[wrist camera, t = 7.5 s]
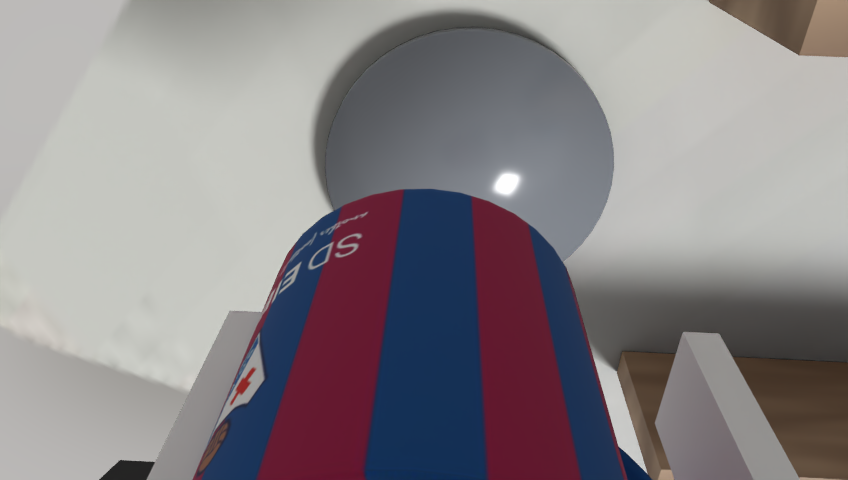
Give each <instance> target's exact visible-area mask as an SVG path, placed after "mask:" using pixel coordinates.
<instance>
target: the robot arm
mask: <svg viewBox="0 0 848 480" xmlns="http://www.w3.org/2000/svg"><path fill="white" fill-rule="evenodd" d="M261 314H262V312H247V311H229V313H228V315H227V318H226V320H225V322H224V324H223V326H222V328H221V330H220V332H219V334H218V336H217V338H216V340H215V342H214V344H213V346H212V348H211V350H210V352H209V354H208V356H207V358H206V360H205V362H204V364H203V366H202V368H201V370H200V372H199V374H198V376H197V378H196V380H195V382H194V384H193V386H192V389H191V391H190V393H189V395H188V397H187V399H186V401H185V403H184V405H183V407H182V409H181V411H180V413H179V415H178V417H177V419H176V421H175V423H174V425H173V427H172V429H171V431H170V433H169V435H168V437H167V440H166V441H165V443H164V445H163V447H162V449H161V451H160V453H159V456H158V457H157V460H156V462H144V461H124V460H120V461H119V462H118V463H117V464H116V465H115V466H113V467H112V468H111V469H110V470H109V471H108V472H107V473H106V474H105V475H104V476H103V477H102V478H101V479H99V480H193V477H194V475H195V472H196V470H197V468H198V465H199V463H200V460H201V458H202V456H203V453H204V451H205V448H206V446H207V444H208V441H209V439H210V436H211V434H212V431H213V429H214V427H215V424H216V422H217V419H218V417H219V415H220V412H221V410H222V407H223V405H224V403H225V400H226V398H227V395H228V393H229V391H230V388H231V386H232V383H233V381H234V379H235V376H236V374H237V371H238V369H239V367H240V364H241V362H242V359H243V357H244V355H245V352H246V350H247V347H248V345H249V342H250V340H251V338H252V335H253V333H254V330H255V328H256V326H257V323H258V321H259V318H260V316H261ZM655 425H656V428H657V431H658V434H659V437H660V440H661V442H662V445H663V448H664V451H665V454H666V457H667V460H668V462H669V465H670V468H671V471H672V474H673V477H674V479H675V480H800V479H799V477H798V475H797V473H796V471H795V470H794V468H793V466H792V464H791V462H790V461H789V459H788V457H787V455H786V453H785V452H784V450H783V448H782V446H781V444H780V442H779V441H778V439H777V437H776V435H775V433H774V432H773V430H772V428H771V426H770V424H769V423H768V421H767V419H766V417H765V415H764V414H763V412H762V410H761V408H760V406H759V405H758V403H757V401H756V399H755V397H754V395H753V394H752V392H751V390H750V388H749V386H748V385H747V383H746V381H745V379H744V377H743V376H742V374H741V372H740V370H739V368H738V367H737V365H736V363H735V361H734V359H733V357H732V356H731V354H730V352H729V350H728V348H727V347H726V345H725V343H724V341H723V339H722V338H721V336H720V334H719V333H698V332H683V333H682V336H681V339H680V343H679V346H678V349H677V352H676V356H675V359H674V362H673V365H672V369H671V372H670V375H669V378H668V382H667V385H666V388H665V392H664V395H663V398H662V401H661V405H660V408H659V411H658V414H657V418H656V421H655Z"/></svg>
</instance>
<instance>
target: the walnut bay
mask: <svg viewBox="0 0 848 480" xmlns="http://www.w3.org/2000/svg"><path fill="white" fill-rule="evenodd" d="M709 2H710V3H711V4H713V5H715V6H717V7H718V8H720V9H722V10H723V11H725V12H727V13H728V14H730V15H732V16H733V17H735V18H737V19H739V20H740V21H742V22H744V23H745V24H747V25H749V26H750V27H752V28H754V29H756V30H757V31H759V32H761V33H762V34H764V35H766V36H767V37H769V38H771V39H772V40H774V41H776V42H778V43H779V44H781V45H783V46H784V47H786V48H788V49H789V50H791V51H793V52H795V53H796V54H798V55H806V56H832V57H848V0H709ZM675 356H676V354H666V353H646V352H627V351H622V354H621V358H620V362H619V366H618V370H617V374H618V378H619V381H620V384H621V387H622V391H623V394H624V397H625V401H626V404H627V407H628V410H629V414H630V417H631V420H632V423H633V427H634V430H635V433H636V436H637V440H638V443H639V446H640V450H641V453H642V456H643V459H644V463H645V466H646V469H647V472H648V475H649V477H650V478H651V479H652V480H675V479H674V477H673V474H672V471H671V468H670V465H669V462H668V460H667V457H666V454H665V451H664V448H663V445H662V442H661V440H660V437H659V434H658V431H657V428H656V425H655V421H656V418H657V414H658V411H659V408H660V405H661V401H662V398H663V395H664V392H665V388H666V385H667V382H668V378H669V375H670V372H671V369H672V365H673V362H674V359H675ZM733 359H734V361H735V363H736V365H737V367H738V368H739V370H740V372H741V374H742V376H743V377H744V379H745V381H746V383H747V385H748V386H749V388H750V390H751V392H752V394H753V395H754V397H755V399H756V401H757V403H758V405H759V406H760V408H761V410H762V412H763V414H764V415H765V417H766V419H767V421H768V423H769V424H770V426H771V428H772V430H773V432H774V433H775V435H776V437H777V439H778V441H779V442H780V444H781V446H782V448H783V450H784V452H785V453H786V455H787V457H788V459H789V461H790V462H791V464H792V466H793V468H794V470H795V471H796V473H797V475H798V477H799V479H800V480H848V363H844V362H824V361H805V360H785V359H765V358H745V357H733Z"/></svg>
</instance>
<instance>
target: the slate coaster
mask: <svg viewBox="0 0 848 480" xmlns="http://www.w3.org/2000/svg"><path fill="white" fill-rule="evenodd" d="M613 170H614V152H613V144H612V138H611V132H610V129H609V126H608V123H607V120H606V117H605V114H604V112H603V110H602V108H601V106H600V104H599V102H598V100H597V98H596V97H595V95H594V93H593V92H592V90H591V89H590V87H589V86H588V85H587V83H586V82H585V80H584V79H583V77H582V76H581V75H580V74H579V73H578V72H577V71H576V70H575V69H574V68H573V67H572V66H571V65H570V64H569V63H568V62H567V61H565V60H564V59H563V58H561V57H560V56H559V55H558V54H556V53H555V52H554V51H552V50H550V49H549V48H547V47H545V46H543V45H542V44H540V43H538V42H536V41H534V40H531V39H529V38H526V37H524V36H521V35H519V34H515V33H511V32H507V31H503V30H499V29H491V28H481V27H462V28H451V29H445V30H439V31H435V32H431V33H428V34H425V35H422V36H418V37H416V38H413V39H411V40H409V41H407V42H405V43H403V44H400V45H398V46H397V47H395V48H393V49H392V50H390V51H389V52H387V53H386V54H384V55H383V56H381V57H380V58H379V59H378V60H376V61H375V62H374V63H373V64H372V65H371V66H369V67H368V68H367V69H366V70H365V71H364V72H363V74H362V75H361V76H360V77H359V78H358V79H357V80H356V81H355V83H354V84H353V85H352V87H351V88H350V90H349V91H348V93H347V94H346V96H345V98H344V99H343V101H342V104H341V106H340V108H339V110H338V112H337V114H336V116H335V118H334V120H333V124H332V127H331V130H330V133H329V137H328V142H327V148H326V155H325V173H326V181H327V189H328V192H329V196H330V199H331V203H332V206H333V208H334V211H335V210H336V209H338V208H340V207H342V206H343V205H345V204H348V203H350V202H353V201H356V200H359V199H361V198H364V197H367V196H370V195H373V194H378V193H384V192H389V191H395V190H400V189H437V190H445V191H452V192H460V193H463V194H467V195H470V196H473V197H477V198H480V199H483V200H487V201H490V202H492V203H494V204H496V205H498V206H500V207H502V208H504V209H506V210H508V211H510V212H512V213H514V214H516V215H517V216H518V217H520V218H521V219H522V220H524V221H525V222H527V223H528V224H529V225H531V226H532V227H533V228H535V229H536V230H537V231H538V232H539V233H540V234H541V235H542V236H543V237H544V238H545V239H546V240H547V241H548V243H549V244H550V245H551V246H552V247H553V248H554V249H555V251H556V252H557V254H558V256H559V257H560V259H561V261H562V262H563V261H564V260H565V259H567V258H568V257H569V256H570V255H571V254H572V253H573V252H574V251H575V250H576V249H577V248H578V247H579V246H580V245H581V244H582V243H583V242H584V240H585V239H586V238H587V237H588V235H589V234H590V233H591V231H592V230H593V228H594V226H595V225H596V223H597V221H598V220H599V218H600V216H601V214H602V212H603V209H604V207H605V205H606V202H607V199H608V196H609V192H610V189H611V185H612V178H613Z"/></svg>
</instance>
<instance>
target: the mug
mask: <svg viewBox="0 0 848 480" xmlns="http://www.w3.org/2000/svg"><path fill="white" fill-rule="evenodd" d="M193 480H652V479H651V478H650V477H649V475H648V474H647V473H646V472H645V471H644V470H643V469H642V468H641V467H640V466H639V465H638V464H637V463H636V462H635V461H634V460H633V459H632V458H631V457H630V456H629V455H628V454H626V453H625V452H624V451H623V450H622V449H621V448H619V447H618V444H617V440H616V437H615V433H614V430H613V426H612V423H611V419H610V416H609V412H608V408H607V405H606V401H605V398H604V394H603V391H602V387H601V384H600V380H599V376H598V373H597V369H596V366H595V362H594V359H593V355H592V352H591V348H590V344H589V341H588V337H587V334H586V330H585V327H584V323H583V319H582V316H581V312H580V309H579V305H578V302H577V298H576V295H575V291H574V288H573V285H572V282H571V280H570V277H569V274H568V271H567V269H566V267H565V265H564V264H563V262H562V261H561V259H560V257H559V256H558V254H557V252H556V251H555V249H554V248H553V247H552V246H551V245H550V244H549V243H548V241H547V240H546V239H545V238H544V237H543V236H542V235H541V234H540V233H539V232H538V231H537V230H536V229H535V228H533V227H532V226H531V225H529V224H528V223H527V222H525V221H524V220H522V219H521V218H520V217H518V216H517V215H516V214H514V213H512V212H510V211H508V210H506V209H504V208H502V207H500V206H498V205H496V204H494V203H492V202H490V201H487V200H483V199H480V198H477V197H473V196H470V195H467V194H463V193H460V192H452V191H445V190H437V189H400V190H395V191H389V192H384V193H378V194H373V195H370V196H367V197H364V198H361V199H359V200H356V201H353V202H350V203H348V204H345V205H343V206H342V207H340V208H338V209H336V210H335V211H333V212H331V213H329V214H328V215H326V216H324V217H322V218H321V219H320V220H319V221H318V222H316V223H315V224H314V225H313V226H312V227H311V228H309V229H308V230H307V231H306V232H305V233H304V234H303V235H302V236H301V237H300V238H299V240H298V241H297V242H296V243H295V245H294V246H293V247H292V249H291V250H290V251H289V252H288V254H287V256H286V258H285V260H284V262H283V265H282V267H281V269H280V271H279V273H278V275H277V278H276V280H275V282H274V285H273V287H272V290H271V292H270V294H269V297H268V299H267V302H266V304H265V306H264V309H263V311H262V314H261V316H260V318H259V321H258V323H257V326H256V328H255V330H254V333H253V335H252V338H251V340H250V342H249V345H248V347H247V350H246V352H245V355H244V357H243V359H242V362H241V364H240V367H239V369H238V371H237V374H236V376H235V379H234V381H233V383H232V386H231V388H230V391H229V393H228V395H227V398H226V400H225V403H224V405H223V407H222V410H221V412H220V415H219V417H218V419H217V422H216V424H215V427H214V429H213V431H212V434H211V436H210V439H209V441H208V444H207V446H206V448H205V451H204V453H203V456H202V458H201V460H200V463H199V465H198V468H197V470H196V472H195V475H194V477H193Z"/></svg>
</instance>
